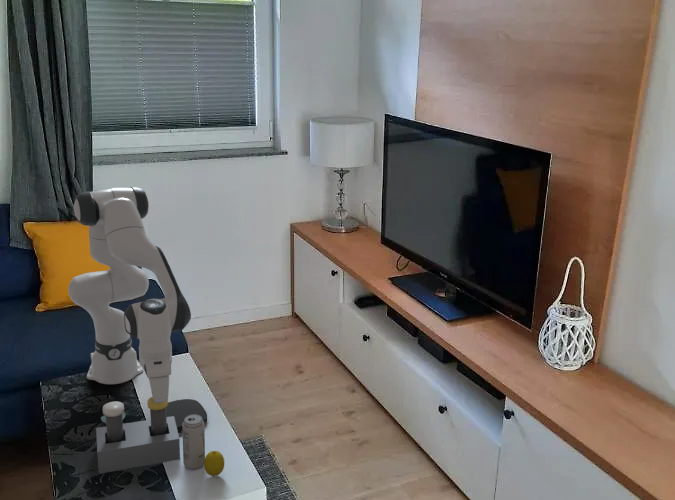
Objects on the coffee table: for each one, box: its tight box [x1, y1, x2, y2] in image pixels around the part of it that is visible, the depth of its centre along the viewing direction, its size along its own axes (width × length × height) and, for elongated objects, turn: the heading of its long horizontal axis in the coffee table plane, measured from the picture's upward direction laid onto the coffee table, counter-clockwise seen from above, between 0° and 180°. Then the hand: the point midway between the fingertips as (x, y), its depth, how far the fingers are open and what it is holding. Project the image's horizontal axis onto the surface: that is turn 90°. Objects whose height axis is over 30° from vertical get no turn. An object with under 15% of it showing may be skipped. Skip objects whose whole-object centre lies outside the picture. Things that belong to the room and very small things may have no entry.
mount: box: [95, 416, 181, 475], centre depth 190 cm, size 12×22×7 cm, turn 110°
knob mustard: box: [147, 396, 169, 436], centre depth 190 cm, size 6×6×11 cm
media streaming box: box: [166, 398, 208, 434], centre depth 209 cm, size 15×15×3 cm
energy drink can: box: [181, 414, 206, 471], centre depth 185 cm, size 6×6×15 cm
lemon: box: [203, 450, 225, 477], centre depth 182 cm, size 6×6×8 cm
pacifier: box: [100, 411, 126, 424], centre depth 206 cm, size 7×6×6 cm
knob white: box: [102, 400, 125, 443], centre depth 186 cm, size 6×6×11 cm
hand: (157, 400), depth 188 cm, fingers closed
